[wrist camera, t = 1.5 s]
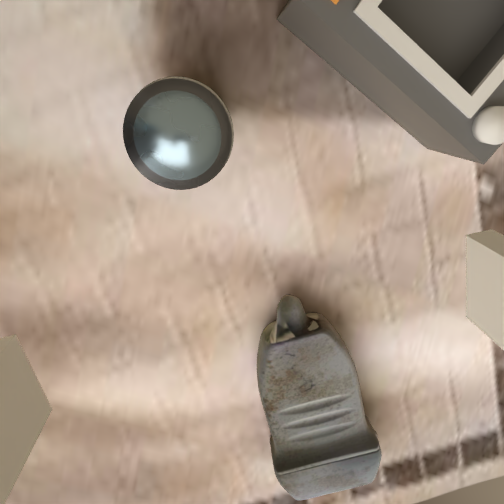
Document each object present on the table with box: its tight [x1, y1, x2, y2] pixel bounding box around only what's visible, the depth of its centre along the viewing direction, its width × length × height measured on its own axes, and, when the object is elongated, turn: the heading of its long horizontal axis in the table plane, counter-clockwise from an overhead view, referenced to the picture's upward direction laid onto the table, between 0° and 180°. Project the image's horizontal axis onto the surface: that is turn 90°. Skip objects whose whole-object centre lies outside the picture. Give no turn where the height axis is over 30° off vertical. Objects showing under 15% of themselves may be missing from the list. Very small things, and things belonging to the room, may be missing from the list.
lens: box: [123, 77, 234, 190], centre depth 24 cm, size 5×5×10 cm
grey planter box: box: [277, 0, 504, 164], centre depth 24 cm, size 14×11×8 cm
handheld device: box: [257, 295, 381, 500], centre depth 36 cm, size 10×20×5 cm, turn 14°
